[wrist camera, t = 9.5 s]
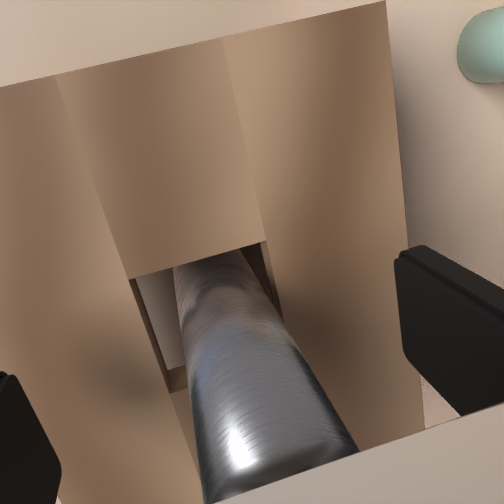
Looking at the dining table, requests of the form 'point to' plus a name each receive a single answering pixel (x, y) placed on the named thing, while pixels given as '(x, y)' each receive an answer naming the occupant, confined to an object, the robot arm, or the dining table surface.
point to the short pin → (483, 47)
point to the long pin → (249, 383)
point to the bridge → (201, 236)
